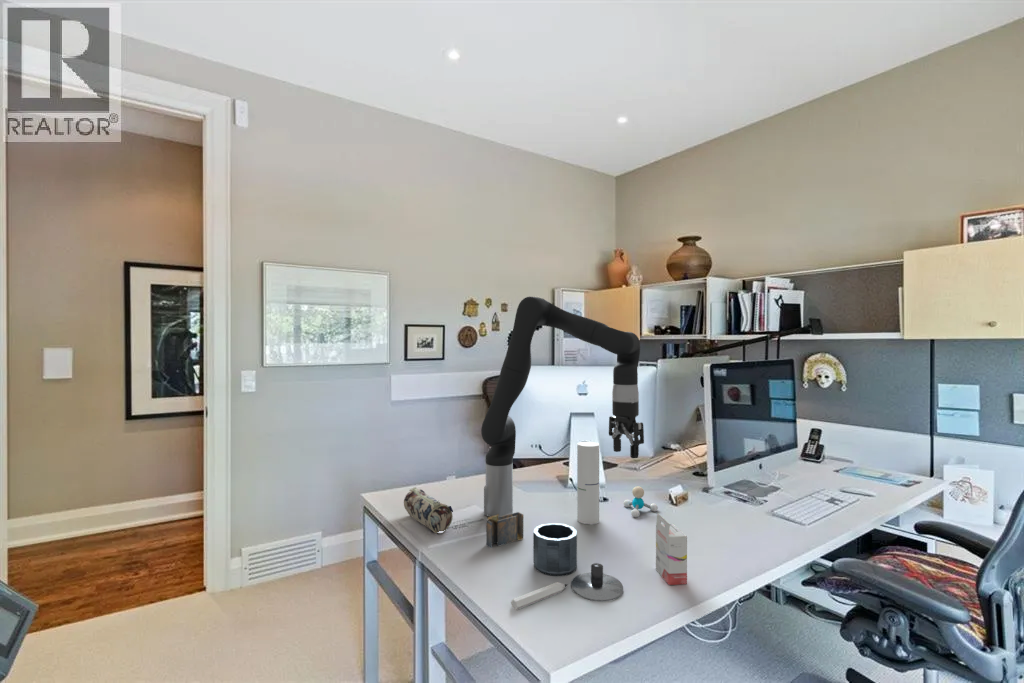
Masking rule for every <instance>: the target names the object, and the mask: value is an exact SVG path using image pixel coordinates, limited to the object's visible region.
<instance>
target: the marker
mask: <svg viewBox="0 0 1024 683" xmlns="http://www.w3.org/2000/svg"><path fill="white" fill-rule="evenodd" d="M568 585H569V583H568V584H566V583H561V582H559V581H556V582H554V583H551V584H548V585H547V586H546V585H545V586H543V587H541V588H538V589H535V590H533V591H530V592H527V593H525V594H523V595H520V596H518V597H517V596H516V597H515V598H512V600H511V602H510V605H511V607H512V609H515V611H518V610H520V609H522V608H525V607H528V606H530V605H532V604H535V603H537V602H540V601H542V600H545V599H548V598H550V597H552V596H555V595H558V594H560V593H562V592H563V591H564V590H565V588H567V587H568Z"/></svg>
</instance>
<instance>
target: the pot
mask: <svg viewBox="0 0 1024 683" xmlns="http://www.w3.org/2000/svg"><path fill="white" fill-rule="evenodd" d="M532 539H533V544H532V545H533V546H532V547H533V549H532V550H533V553H532V554H533V555H532V556H533V557H532V558H533V567H534V569H535V570H536V571H537V572H539V573H541V574H542V575H546V576H549V577H550V576H551V577H565V576H568V575H572V574H573V573H575V572H576V570H577V569H578V530H577V529H576V528H574V526H571V525H568V524H565V523H557V522H550V523H542V524H539V525H538V526H536V527H534V529H533V536H532Z"/></svg>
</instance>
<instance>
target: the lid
mask: <svg viewBox="0 0 1024 683" xmlns="http://www.w3.org/2000/svg"><path fill="white" fill-rule="evenodd" d="M570 584H571V585H570V586H571V590H572V592H573V593H574V594H576V595H577V596H579V597H580V598H583V599H585V600H588V601H592V602H593V601H594V602H609V601H614V600H616V599H619V598H620V597H621V596H622V595H623V594H624V585H623V583H622V582H621V581H620V580H619V579H618V578H616V577H614V576H612V575H609V574H606V573H604V565H603V564H601V563H597V562H594V563H592V564H591V565H590V572H584V573H580V574H577V575H576V576H574V577H573V578H572V579H571V582H570Z"/></svg>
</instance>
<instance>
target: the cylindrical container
mask: <svg viewBox="0 0 1024 683" xmlns="http://www.w3.org/2000/svg"><path fill="white" fill-rule="evenodd" d="M576 444H577V445H576V446H577V447H576V450H577V451H576V452H577V453H576V454H577V456H576V460H577V461H576V463H577V464H576V466H577V468H576V471H577V472H576V474H577V475H576V477H577V478H576V480H577V481H576V485H577V487H576V494H577V495H576V496H577V497H576V500H577V504H576V506H577V507H576V512H577V513H576V515H577V516H576V519H577V521H578V522H579V523H580V524H585V525H596V524H598V523H599V522H600V443H598V442H595V441H581V442H580V441H579V442H577V443H576Z"/></svg>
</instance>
